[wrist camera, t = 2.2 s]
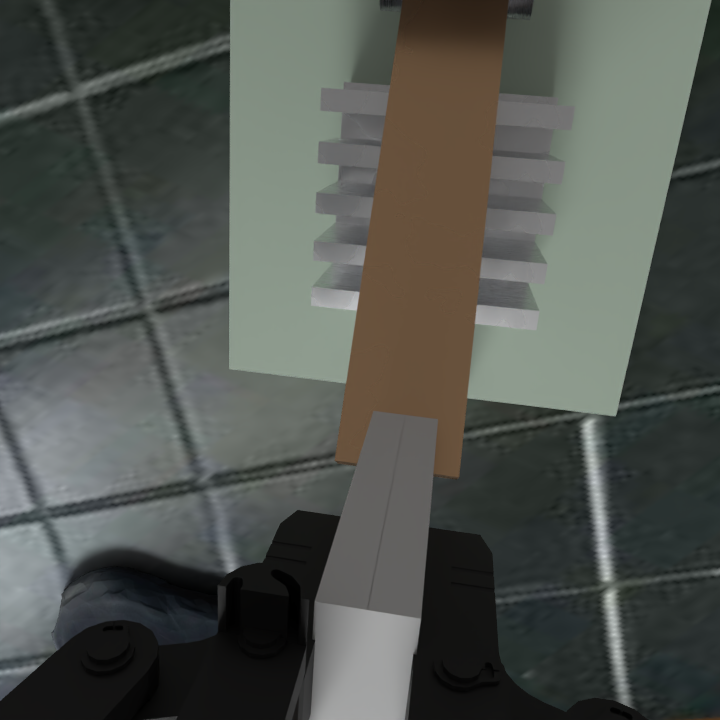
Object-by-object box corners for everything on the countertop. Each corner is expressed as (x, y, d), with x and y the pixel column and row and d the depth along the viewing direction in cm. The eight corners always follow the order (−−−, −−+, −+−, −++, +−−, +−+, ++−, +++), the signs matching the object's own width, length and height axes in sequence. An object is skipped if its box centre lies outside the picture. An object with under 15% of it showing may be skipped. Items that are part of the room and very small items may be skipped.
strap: (312, 460, 17) (305, 455, 16) (385, -14, 21) (384, -45, 19) (484, 483, 17) (489, 480, 16) (531, -5, 20) (538, -38, 19)
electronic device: (317, 570, 39) (57, 548, 38) (309, 653, 34) (11, 628, 34) (306, 673, 43) (74, 654, 43) (298, 759, 39) (36, 739, 38)
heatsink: (338, 277, 30) (310, 315, 24) (350, 83, 27) (321, 75, 21) (520, 296, 29) (534, 339, 23) (552, 98, 26) (577, 94, 21)
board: (236, 360, 33) (149, 456, 24) (240, -59, 27) (122, -152, 17) (610, 405, 31) (673, 529, 22) (709, -35, 25) (857, -124, 16)
